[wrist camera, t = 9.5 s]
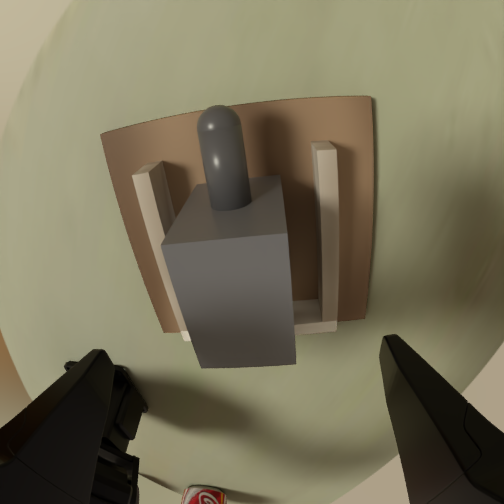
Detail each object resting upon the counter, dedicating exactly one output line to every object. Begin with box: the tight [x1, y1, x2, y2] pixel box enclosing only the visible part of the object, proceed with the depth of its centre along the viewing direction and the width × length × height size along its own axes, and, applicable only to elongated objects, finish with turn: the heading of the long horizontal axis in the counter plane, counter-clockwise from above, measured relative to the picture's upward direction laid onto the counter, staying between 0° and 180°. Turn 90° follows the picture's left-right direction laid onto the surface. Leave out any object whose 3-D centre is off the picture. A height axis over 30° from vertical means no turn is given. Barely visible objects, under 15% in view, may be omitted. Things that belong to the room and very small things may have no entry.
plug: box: [160, 105, 296, 368], centre depth 13 cm, size 4×10×6 cm, turn 7°
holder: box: [100, 96, 374, 341], centre depth 16 cm, size 13×13×3 cm
